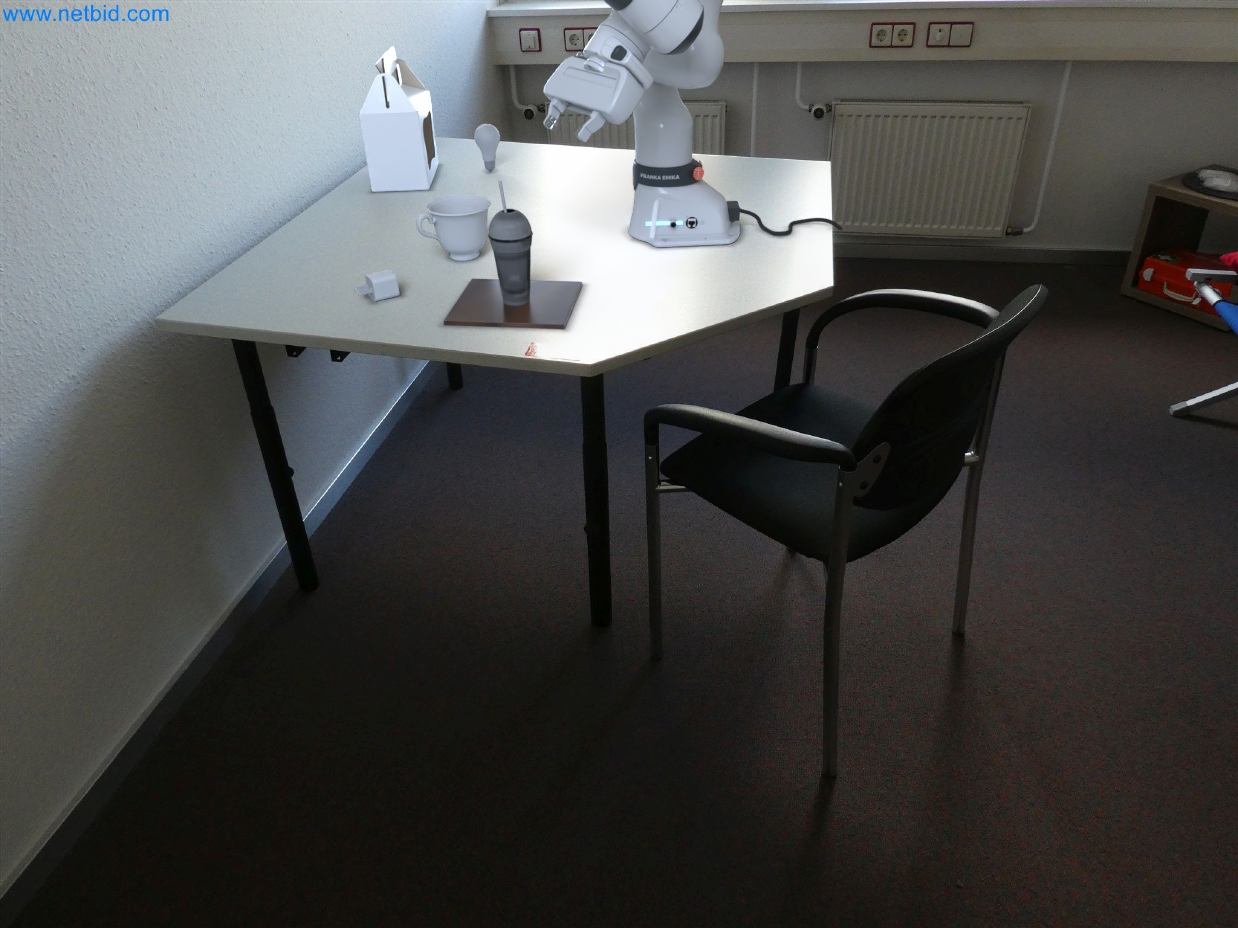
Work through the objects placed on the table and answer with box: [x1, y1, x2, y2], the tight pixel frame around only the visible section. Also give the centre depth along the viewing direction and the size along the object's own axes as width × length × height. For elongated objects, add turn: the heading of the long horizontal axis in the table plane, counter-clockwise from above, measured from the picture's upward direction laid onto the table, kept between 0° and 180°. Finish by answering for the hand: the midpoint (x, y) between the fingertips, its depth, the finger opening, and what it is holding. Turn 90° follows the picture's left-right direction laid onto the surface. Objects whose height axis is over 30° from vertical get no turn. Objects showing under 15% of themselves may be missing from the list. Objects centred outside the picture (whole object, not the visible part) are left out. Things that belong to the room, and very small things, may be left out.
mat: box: [443, 278, 583, 330], centre depth 154 cm, size 20×18×1 cm
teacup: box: [415, 194, 492, 262], centre depth 170 cm, size 12×15×10 cm
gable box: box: [358, 46, 440, 193], centre depth 210 cm, size 22×13×28 cm, turn 4°
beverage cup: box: [487, 180, 534, 306], centre depth 148 cm, size 7×7×20 cm
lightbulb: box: [474, 123, 501, 172], centre depth 219 cm, size 6×6×11 cm
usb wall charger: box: [353, 268, 400, 303], centre depth 156 cm, size 4×7×4 cm, turn 123°
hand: (563, 133), depth 145 cm, fingers open, 8 cm apart
